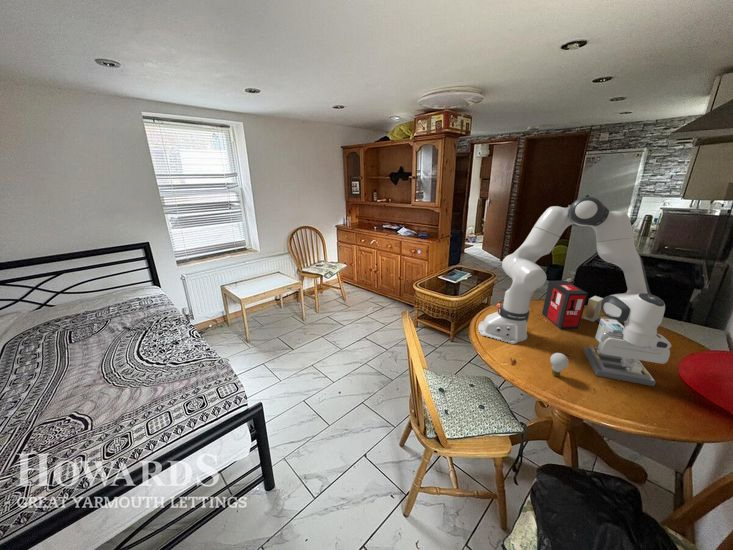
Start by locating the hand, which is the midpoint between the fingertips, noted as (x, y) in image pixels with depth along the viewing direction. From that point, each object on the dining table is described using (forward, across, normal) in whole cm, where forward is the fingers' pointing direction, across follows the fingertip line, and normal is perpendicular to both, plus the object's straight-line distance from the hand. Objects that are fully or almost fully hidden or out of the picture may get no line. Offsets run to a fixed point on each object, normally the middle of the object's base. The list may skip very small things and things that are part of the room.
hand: (626, 366), depth 111 cm
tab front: (+2, +3, 0) cm, 4 cm away
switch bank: (+4, -1, +5) cm, 7 cm away
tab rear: (+2, -4, +10) cm, 11 cm away
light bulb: (+4, -25, -8) cm, 27 cm away
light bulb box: (+5, +2, +22) cm, 23 cm away
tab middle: (+2, +3, +5) cm, 6 cm away
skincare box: (+4, +2, +48) cm, 48 cm away
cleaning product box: (+5, -14, +40) cm, 42 cm away
